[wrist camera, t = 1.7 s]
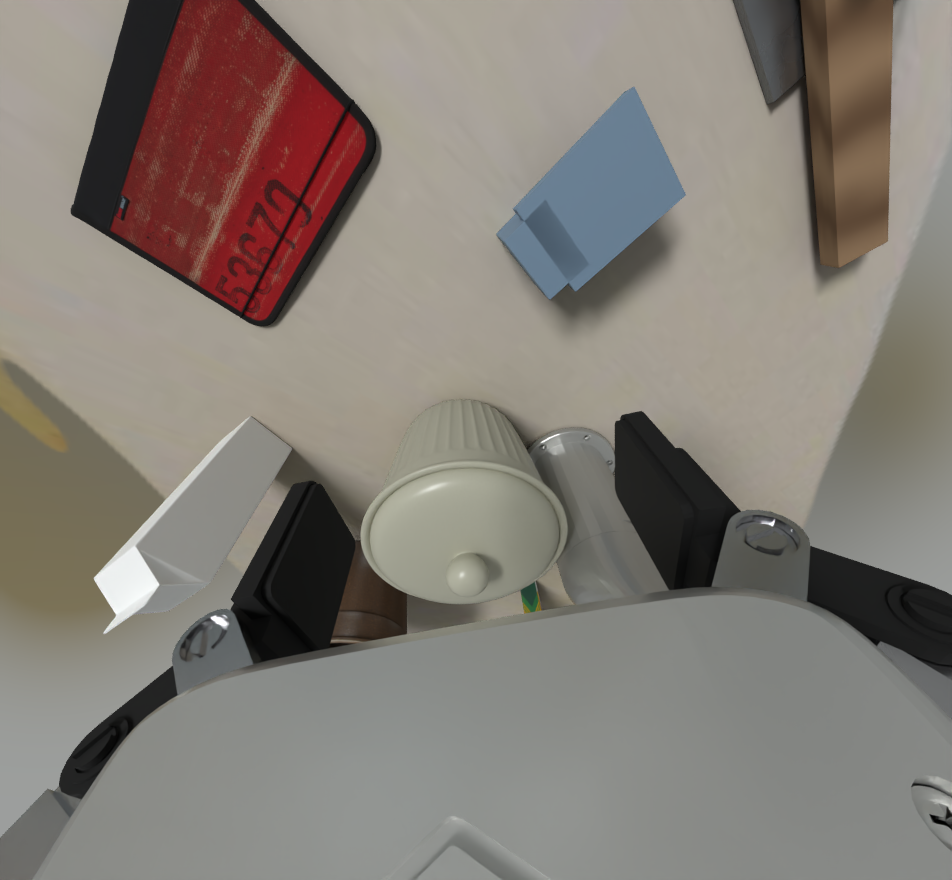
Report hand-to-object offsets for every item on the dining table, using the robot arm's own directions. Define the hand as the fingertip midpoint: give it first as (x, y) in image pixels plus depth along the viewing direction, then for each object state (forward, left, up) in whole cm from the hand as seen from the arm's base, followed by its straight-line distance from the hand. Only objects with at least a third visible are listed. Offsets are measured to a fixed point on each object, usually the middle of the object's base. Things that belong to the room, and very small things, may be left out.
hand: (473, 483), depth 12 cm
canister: (-13, +12, -29) cm, 34 cm away
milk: (+4, +30, -29) cm, 42 cm away
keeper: (-2, -12, -29) cm, 31 cm away
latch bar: (-11, -31, -28) cm, 44 cm away
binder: (+19, +7, -30) cm, 36 cm away
